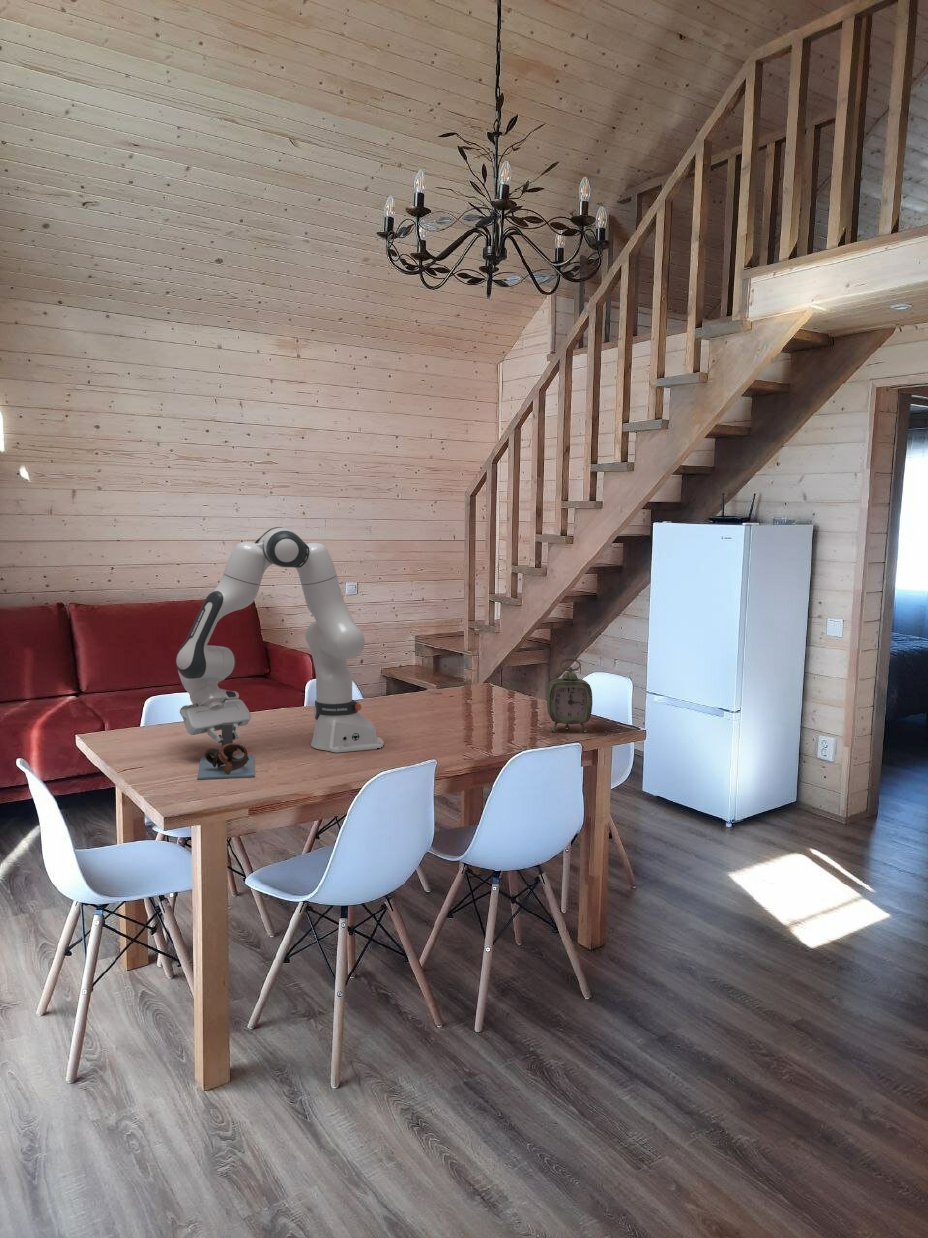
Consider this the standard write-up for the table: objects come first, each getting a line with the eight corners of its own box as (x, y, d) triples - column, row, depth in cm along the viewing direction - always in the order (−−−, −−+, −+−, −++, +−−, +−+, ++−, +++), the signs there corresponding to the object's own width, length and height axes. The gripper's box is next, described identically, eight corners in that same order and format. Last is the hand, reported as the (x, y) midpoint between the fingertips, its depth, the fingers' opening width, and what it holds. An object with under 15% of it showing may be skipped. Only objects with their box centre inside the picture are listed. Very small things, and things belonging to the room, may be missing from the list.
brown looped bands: (247, 765, 255) (253, 744, 251) (241, 788, 247) (247, 766, 243) (204, 755, 253) (210, 734, 249) (197, 779, 245) (202, 756, 241)
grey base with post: (253, 756, 265) (253, 721, 263) (254, 776, 244) (254, 739, 243) (200, 759, 261) (200, 723, 260) (197, 779, 241) (196, 741, 240)
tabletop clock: (548, 734, 301) (550, 660, 299) (545, 727, 310) (547, 656, 308) (591, 734, 302) (594, 660, 299) (586, 728, 311) (589, 656, 308)
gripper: (181, 700, 256) (201, 740, 251) (242, 691, 272) (261, 728, 266) (173, 713, 260) (192, 752, 254) (233, 703, 275) (252, 740, 270)
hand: (228, 740), depth 260 cm, fingers closed on grey base with post, 4 cm apart
